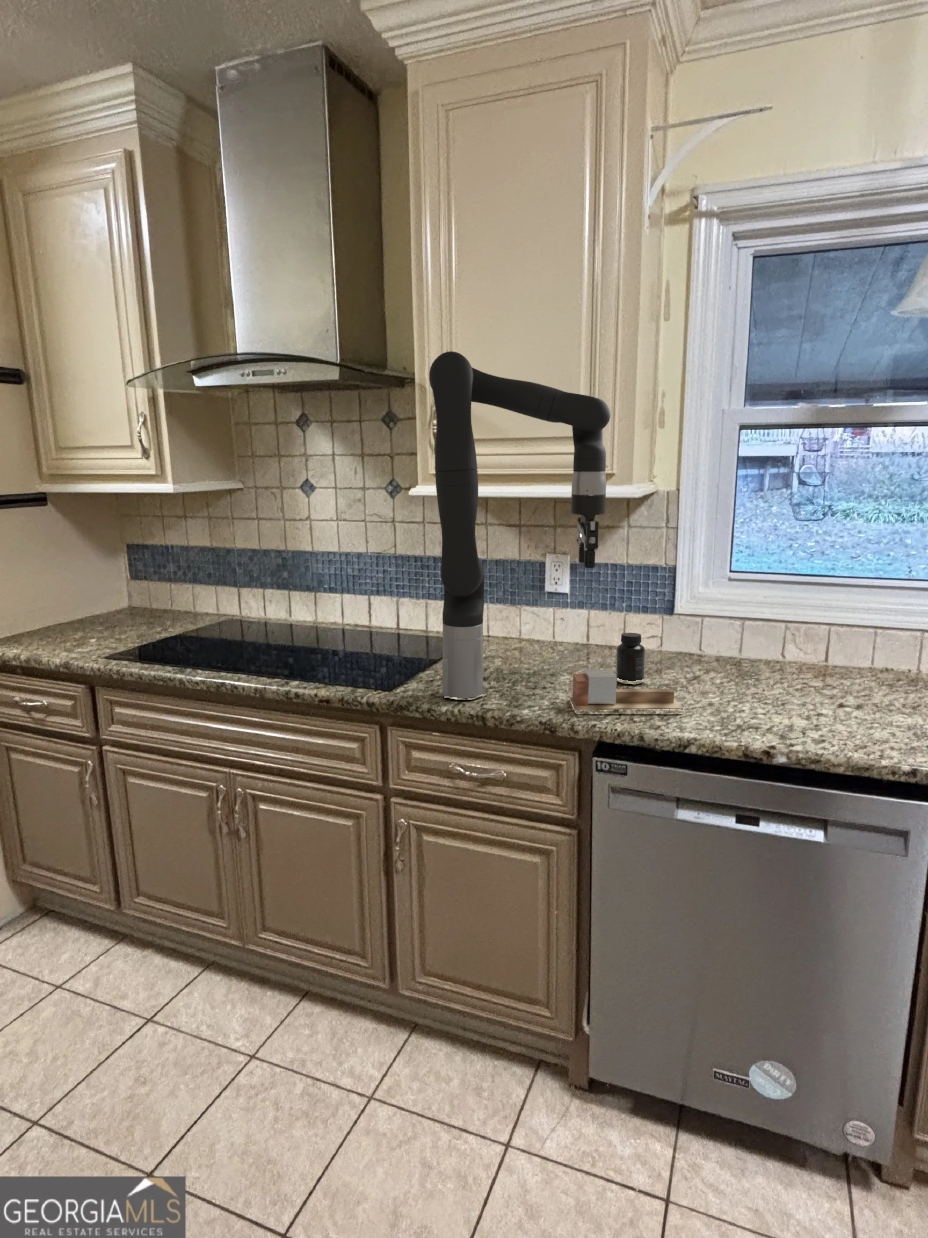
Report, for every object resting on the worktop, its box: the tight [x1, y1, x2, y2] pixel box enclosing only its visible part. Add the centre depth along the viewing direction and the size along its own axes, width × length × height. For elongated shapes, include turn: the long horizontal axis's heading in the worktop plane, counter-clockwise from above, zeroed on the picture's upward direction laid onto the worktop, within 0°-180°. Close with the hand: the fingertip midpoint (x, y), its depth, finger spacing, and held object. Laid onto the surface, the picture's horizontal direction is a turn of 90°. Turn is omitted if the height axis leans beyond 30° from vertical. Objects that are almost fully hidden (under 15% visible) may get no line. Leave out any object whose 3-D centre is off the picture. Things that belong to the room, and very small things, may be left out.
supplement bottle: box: [615, 632, 646, 681], centre depth 178 cm, size 7×7×12 cm
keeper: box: [584, 669, 618, 704], centre depth 159 cm, size 6×6×6 cm
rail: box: [568, 672, 684, 711], centre depth 159 cm, size 23×9×7 cm, turn 90°
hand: (586, 565), depth 164 cm, fingers open, 8 cm apart
